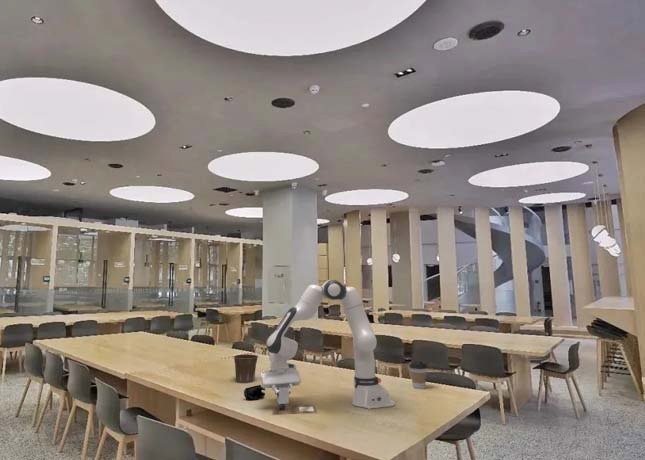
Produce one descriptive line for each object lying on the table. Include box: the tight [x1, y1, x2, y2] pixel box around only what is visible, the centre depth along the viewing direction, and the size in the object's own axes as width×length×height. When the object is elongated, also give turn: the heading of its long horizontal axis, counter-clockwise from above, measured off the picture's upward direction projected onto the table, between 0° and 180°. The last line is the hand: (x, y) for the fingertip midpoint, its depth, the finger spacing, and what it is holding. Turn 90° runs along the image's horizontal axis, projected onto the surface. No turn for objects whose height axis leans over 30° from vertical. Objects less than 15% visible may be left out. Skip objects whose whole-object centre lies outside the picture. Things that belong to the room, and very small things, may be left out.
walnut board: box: [271, 404, 318, 416], centre depth 203 cm, size 22×14×8 cm, turn 97°
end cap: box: [243, 384, 266, 402], centre depth 227 cm, size 10×7×7 cm
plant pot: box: [233, 353, 259, 384], centre depth 270 cm, size 16×16×16 cm
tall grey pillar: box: [276, 385, 290, 405], centre depth 203 cm, size 5×5×8 cm
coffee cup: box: [408, 361, 428, 390], centre depth 251 cm, size 11×11×15 cm
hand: (283, 393), depth 203 cm, fingers closed on tall grey pillar, 5 cm apart
